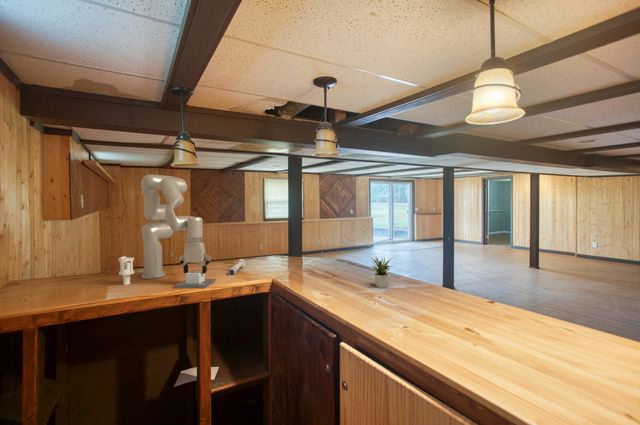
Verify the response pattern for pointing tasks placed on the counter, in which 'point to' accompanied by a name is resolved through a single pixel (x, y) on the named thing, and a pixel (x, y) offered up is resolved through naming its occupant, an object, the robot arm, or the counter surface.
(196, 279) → the collar
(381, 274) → the house plant
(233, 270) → the white flashlight
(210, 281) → the grey plate with knob
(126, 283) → the white upright piece
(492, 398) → the counter surface
